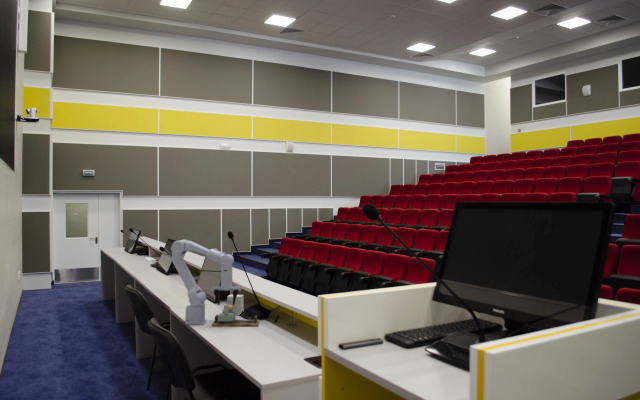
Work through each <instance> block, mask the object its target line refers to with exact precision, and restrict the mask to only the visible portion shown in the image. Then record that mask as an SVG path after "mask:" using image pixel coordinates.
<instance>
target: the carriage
mask: <svg viewBox="0 0 640 400" xmlns="http://www.w3.org/2000/svg"><path fill="white" fill-rule="evenodd" d="M223 310H224V313H222V312H220V313H219V314H218V321H232V320H233V318H234V313H228V305H227V304H225V305H224V306H223Z"/></svg>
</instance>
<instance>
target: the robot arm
mask: <svg viewBox="0 0 640 400" xmlns="http://www.w3.org/2000/svg"><path fill="white" fill-rule="evenodd" d="M170 250H171V261H172V264H173V265H174V267H175V269H176V271H177V273H178V274H179V276H180V279H181V281H182V282H183V284H184V286H185V288H186V289H187V297H188V302H189V304H190V305H186V308H185V318H184V319H185V323H184V325H205V323H206V322H207V319H206V317H205V316H206V303H205V302H206V300H207V298H208V297H207V294H206V292H205V291H204V290H203V289H202V288H201V286H199V285H198V284H197V283H196V281H195V278H194V277H193V274H192V273H191V271H190V269H189V267H188V265H187V264H186V262H185V260H184V259H185V255H186V253H188V251H193V252H196V253H198V254H199V253H200V254H202V255H205V256H206V257H207V259H208V260H210V261H213V262H215V263H217V264H220V265H221V267H220V268H221V269H220V285H218V286H217V285H214V286H213V285H212V286H211V291H213V295H214V296H215V299H216V301H217V306H220V305H221V304H220V303H221V301H220V300H221V299H220V297H221V295H220V294H221V291H223V292H224V291H226V292H227V291H232V295H233V305H235V300H236V297H237V295H239V292H240V291H241V290H242V286H237V285H236V286H235V285H233V263H234V262H235V259H234V256H233V255H232V254H231V253H226V252H225V251H224V252H223V251H219V249H218V248H211V249H209V248H207V247H205V246H203V245H200V244H199V243H197V242H194V241H192V240H188V239H185V238H183V239H181V240H175V241H173V243H172V245H171V247H170Z"/></svg>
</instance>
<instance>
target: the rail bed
mask: <svg viewBox="0 0 640 400" xmlns="http://www.w3.org/2000/svg"><path fill="white" fill-rule="evenodd" d="M218 316H219V314H216V315H215V316H214V320H213V322H212V324H211V327H216V328H217V327H224V328H227V327H230V328H232V327H235V328H237V327H240V328H241V327H243V328H244V327H247V328H248V327H250V328H251V327H255V328H257V327H259V324H260V319H258V315H257V314H255V315H254V317H253V319H238V318H237V319H236V318H235V319H233V320H232V321H218Z"/></svg>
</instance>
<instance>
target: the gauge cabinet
mask: <svg viewBox="0 0 640 400" xmlns="http://www.w3.org/2000/svg"><path fill="white" fill-rule="evenodd" d="M221 313H224V309H222V312H221ZM228 313H234V318H233V319H236V315H235V309H232V310H228Z"/></svg>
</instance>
